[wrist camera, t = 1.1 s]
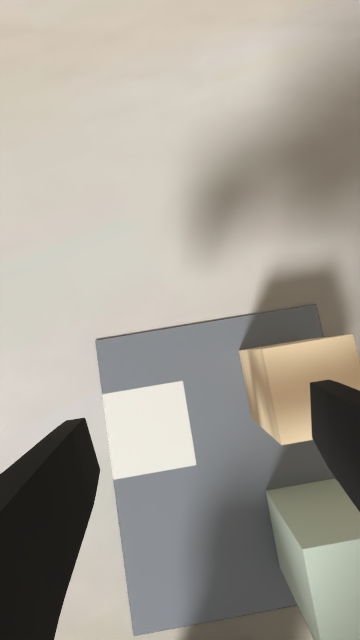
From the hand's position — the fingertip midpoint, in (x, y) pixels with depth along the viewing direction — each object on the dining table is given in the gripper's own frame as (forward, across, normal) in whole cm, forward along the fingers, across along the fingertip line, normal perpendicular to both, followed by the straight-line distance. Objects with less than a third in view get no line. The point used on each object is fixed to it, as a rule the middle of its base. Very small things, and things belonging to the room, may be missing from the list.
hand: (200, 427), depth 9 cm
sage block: (+7, -6, +14) cm, 17 cm away
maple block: (+11, -6, +5) cm, 14 cm away
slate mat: (+9, -2, +10) cm, 13 cm away
